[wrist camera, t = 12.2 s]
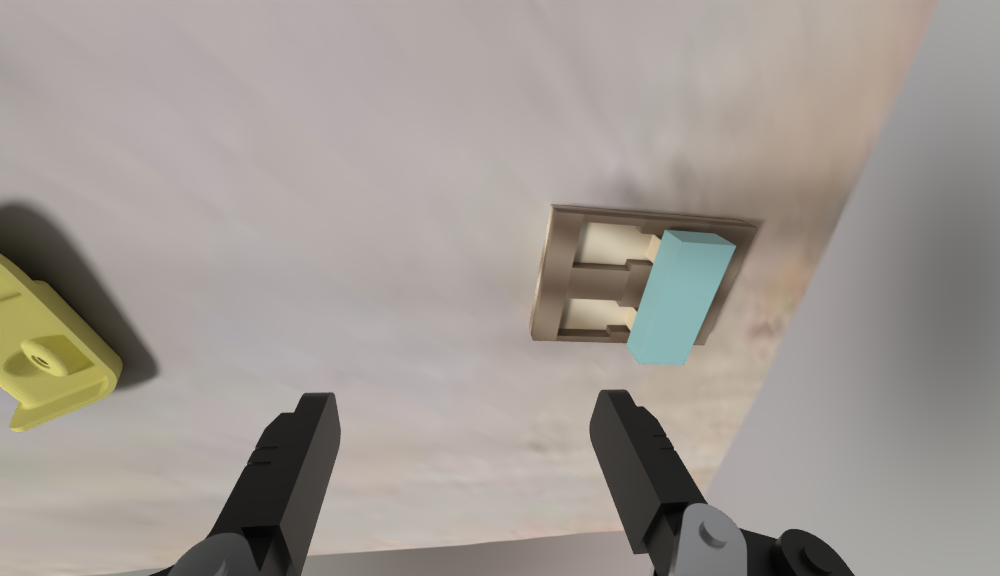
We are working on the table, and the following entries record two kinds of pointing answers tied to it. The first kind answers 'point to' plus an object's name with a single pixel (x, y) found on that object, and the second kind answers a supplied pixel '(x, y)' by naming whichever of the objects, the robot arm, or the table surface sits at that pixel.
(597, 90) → the table surface
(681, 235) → the panel
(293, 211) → the table surface
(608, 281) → the slot board
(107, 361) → the plastic component
